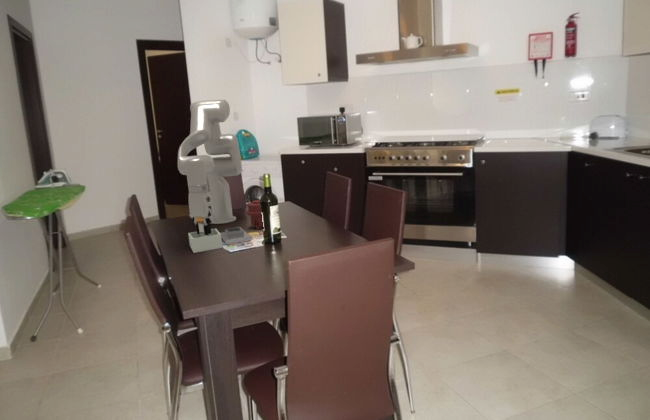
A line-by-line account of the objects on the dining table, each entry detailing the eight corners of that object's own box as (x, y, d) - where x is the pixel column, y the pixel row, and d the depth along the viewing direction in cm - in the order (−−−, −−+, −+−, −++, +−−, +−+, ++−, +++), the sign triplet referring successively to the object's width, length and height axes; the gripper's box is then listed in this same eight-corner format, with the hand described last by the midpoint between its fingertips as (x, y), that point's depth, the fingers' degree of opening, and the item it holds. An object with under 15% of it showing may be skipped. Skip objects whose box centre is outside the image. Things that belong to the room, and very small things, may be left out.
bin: (190, 246, 207) (188, 232, 205) (217, 241, 211) (216, 228, 209) (193, 252, 196) (191, 239, 195) (222, 247, 200) (220, 234, 199)
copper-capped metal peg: (204, 238, 206) (201, 214, 204) (213, 238, 204) (210, 214, 201) (196, 241, 202) (193, 217, 200) (205, 242, 200) (202, 217, 197)
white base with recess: (220, 237, 217) (219, 228, 216) (243, 233, 221) (242, 224, 220) (226, 244, 204) (225, 235, 203) (250, 240, 208) (249, 231, 207)
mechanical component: (273, 224, 233) (266, 230, 223) (252, 225, 235) (245, 230, 225) (270, 198, 230) (263, 203, 221) (250, 199, 232) (242, 203, 223)
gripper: (220, 188, 197) (225, 233, 201) (191, 186, 206) (197, 229, 210) (206, 191, 191) (212, 238, 195) (176, 190, 200) (183, 234, 204)
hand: (204, 233), depth 202 cm, fingers closed on copper-capped metal peg, 3 cm apart
